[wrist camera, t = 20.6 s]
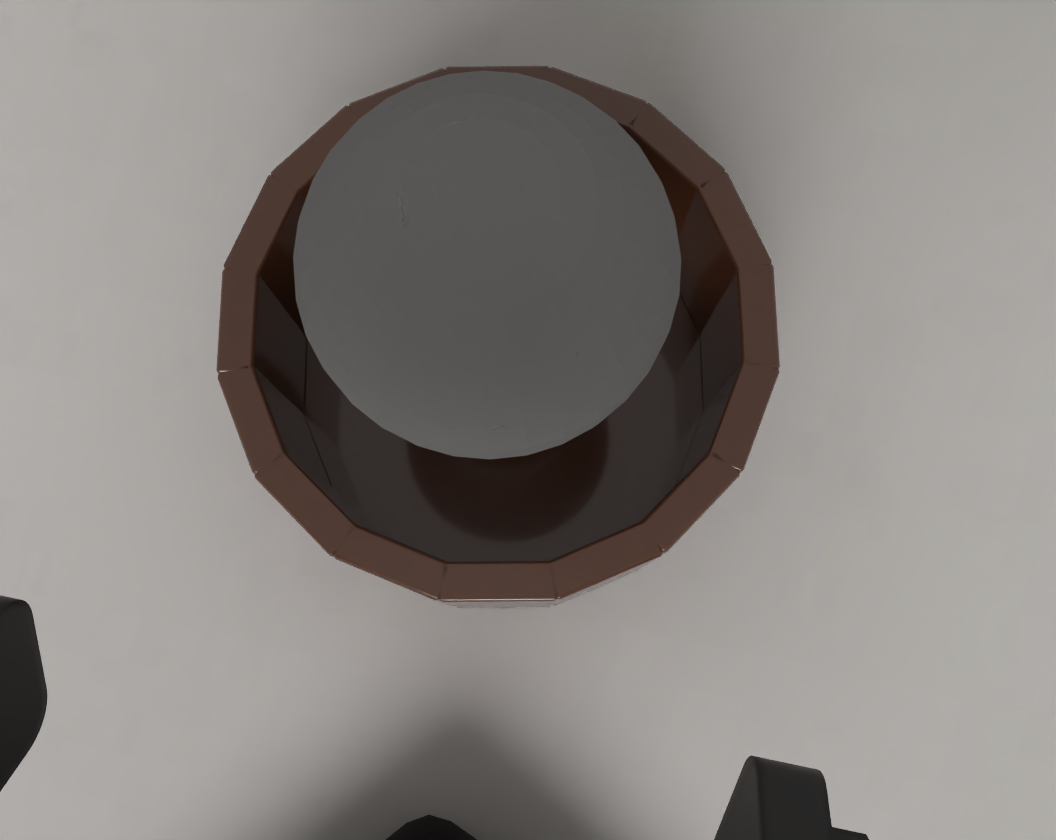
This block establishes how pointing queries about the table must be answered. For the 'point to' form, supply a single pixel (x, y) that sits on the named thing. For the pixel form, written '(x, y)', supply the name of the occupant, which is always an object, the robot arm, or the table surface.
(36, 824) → the table surface
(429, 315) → the light bulb
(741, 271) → the brown round bowl
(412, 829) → the light switch
